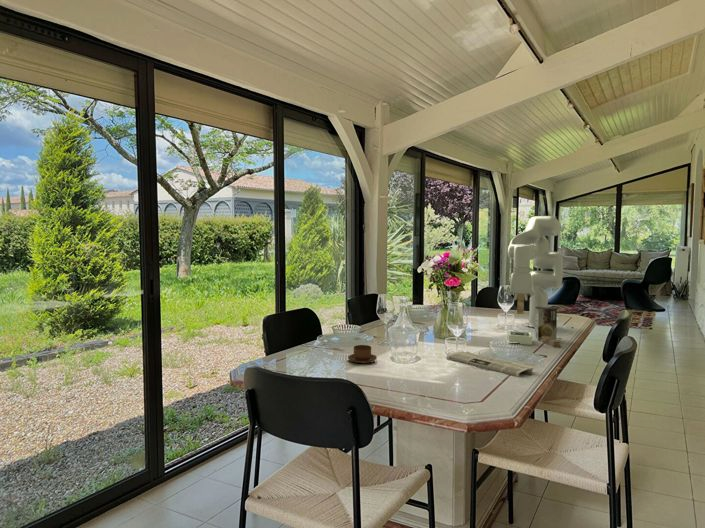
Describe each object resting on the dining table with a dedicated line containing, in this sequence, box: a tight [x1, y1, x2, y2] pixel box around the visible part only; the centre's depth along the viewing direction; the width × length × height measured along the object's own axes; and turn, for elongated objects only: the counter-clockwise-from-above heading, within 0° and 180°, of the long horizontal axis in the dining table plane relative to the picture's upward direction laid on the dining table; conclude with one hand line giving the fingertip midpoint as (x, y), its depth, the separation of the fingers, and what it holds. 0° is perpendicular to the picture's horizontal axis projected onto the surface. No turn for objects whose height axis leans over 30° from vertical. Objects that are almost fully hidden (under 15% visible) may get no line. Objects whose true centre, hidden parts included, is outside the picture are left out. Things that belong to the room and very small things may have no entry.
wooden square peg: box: [516, 294, 525, 315], centre depth 245 cm, size 3×3×12 cm
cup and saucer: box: [347, 344, 378, 364], centre depth 210 cm, size 12×12×6 cm
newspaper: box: [445, 351, 537, 378], centre depth 205 cm, size 35×12×4 cm, turn 41°
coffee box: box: [534, 306, 558, 341], centre depth 251 cm, size 9×6×16 cm
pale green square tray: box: [507, 330, 533, 346], centre depth 246 cm, size 11×11×4 cm
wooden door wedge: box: [540, 336, 561, 348], centre depth 241 cm, size 12×3×3 cm, turn 7°
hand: (520, 307), depth 245 cm, fingers closed on wooden square peg, 3 cm apart
